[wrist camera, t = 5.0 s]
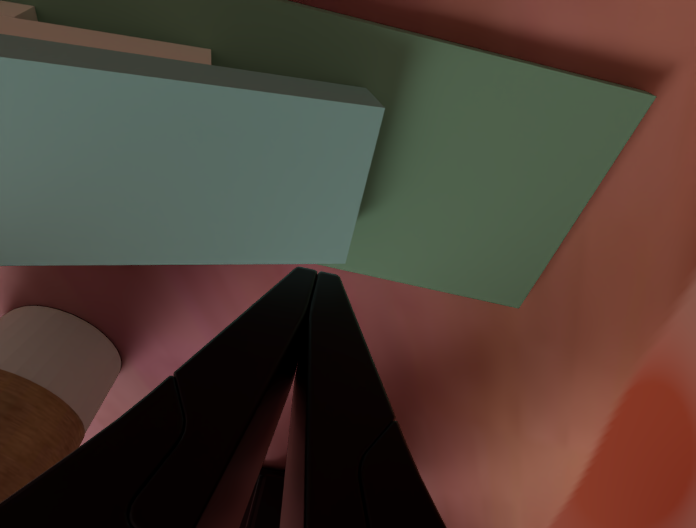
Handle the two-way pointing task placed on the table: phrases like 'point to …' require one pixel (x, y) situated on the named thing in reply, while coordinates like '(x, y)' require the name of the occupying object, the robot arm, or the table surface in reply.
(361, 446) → the robot arm
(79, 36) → the domino
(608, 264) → the table surface
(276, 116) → the domino
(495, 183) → the baize strip
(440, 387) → the table surface
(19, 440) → the coffee cup
